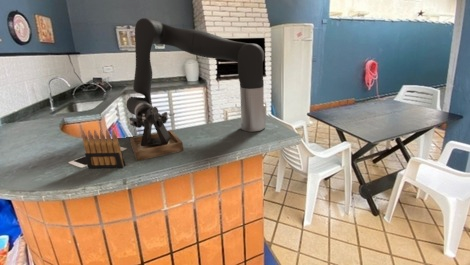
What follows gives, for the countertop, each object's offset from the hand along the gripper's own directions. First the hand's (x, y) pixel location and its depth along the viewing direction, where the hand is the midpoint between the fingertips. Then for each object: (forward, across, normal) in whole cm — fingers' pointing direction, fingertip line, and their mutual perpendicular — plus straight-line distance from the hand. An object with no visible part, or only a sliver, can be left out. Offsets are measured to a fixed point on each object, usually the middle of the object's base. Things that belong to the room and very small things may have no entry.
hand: (154, 125), depth 82 cm
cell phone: (-7, -18, +10) cm, 22 cm away
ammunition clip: (+4, -16, +9) cm, 19 cm away
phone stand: (-3, 0, +7) cm, 8 cm away
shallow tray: (-3, 0, +9) cm, 10 cm away
